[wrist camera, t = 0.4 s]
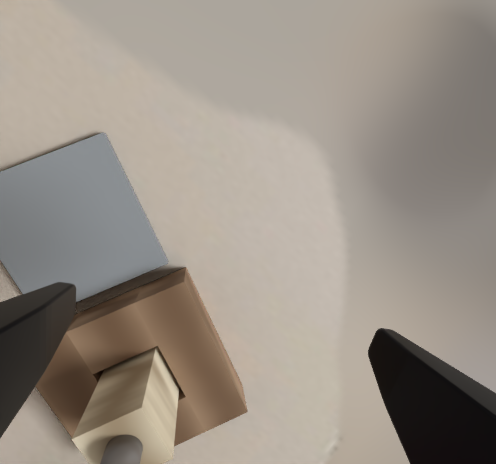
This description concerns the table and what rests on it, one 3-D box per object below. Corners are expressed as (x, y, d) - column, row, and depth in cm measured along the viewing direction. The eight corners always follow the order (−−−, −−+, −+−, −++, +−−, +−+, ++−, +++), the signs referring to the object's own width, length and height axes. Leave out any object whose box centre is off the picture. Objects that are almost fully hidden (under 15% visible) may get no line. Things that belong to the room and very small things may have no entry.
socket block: (113, 444, 25) (102, 479, 22) (37, 330, 22) (12, 355, 19) (242, 384, 26) (247, 411, 23) (185, 267, 23) (184, 281, 20)
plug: (136, 388, 25) (101, 508, 16) (113, 350, 24) (63, 457, 15) (180, 368, 25) (171, 476, 16) (160, 329, 24) (137, 422, 15)
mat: (42, 314, 22) (38, 318, 22) (-39, 188, 20) (-46, 189, 19) (168, 261, 23) (167, 263, 22) (105, 133, 20) (102, 132, 20)
